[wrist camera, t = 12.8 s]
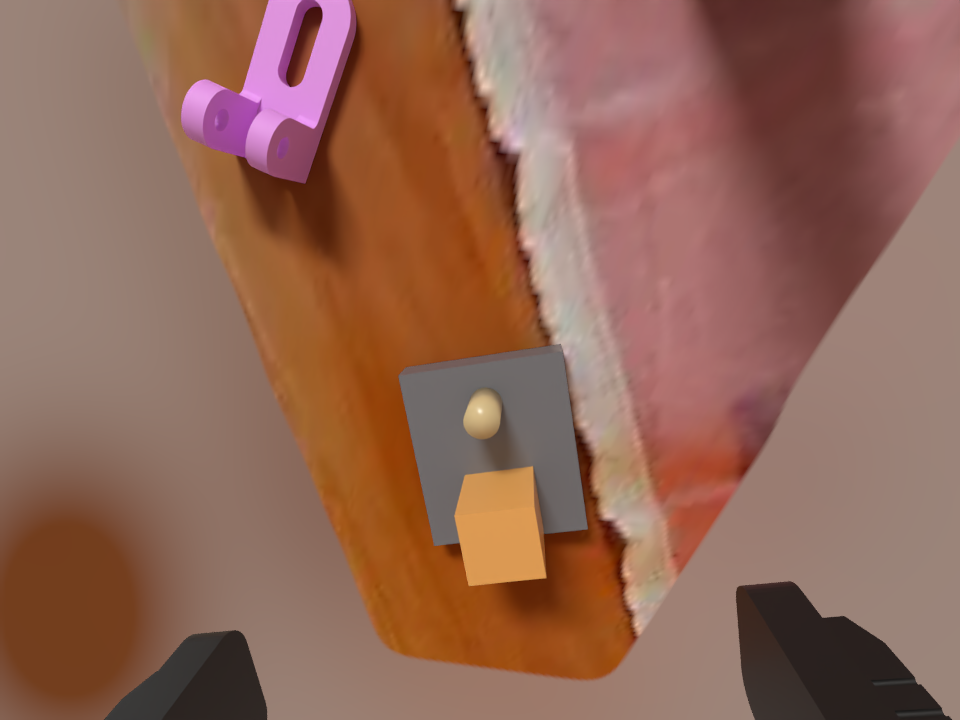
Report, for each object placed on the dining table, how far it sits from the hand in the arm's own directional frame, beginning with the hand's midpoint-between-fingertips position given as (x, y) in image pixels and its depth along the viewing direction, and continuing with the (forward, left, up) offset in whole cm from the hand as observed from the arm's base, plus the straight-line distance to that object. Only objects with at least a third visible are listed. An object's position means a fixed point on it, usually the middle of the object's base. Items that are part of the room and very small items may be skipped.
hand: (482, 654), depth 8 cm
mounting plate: (+3, +9, -32) cm, 33 cm away
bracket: (+12, -20, -32) cm, 40 cm away
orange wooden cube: (+3, +13, -30) cm, 32 cm away
